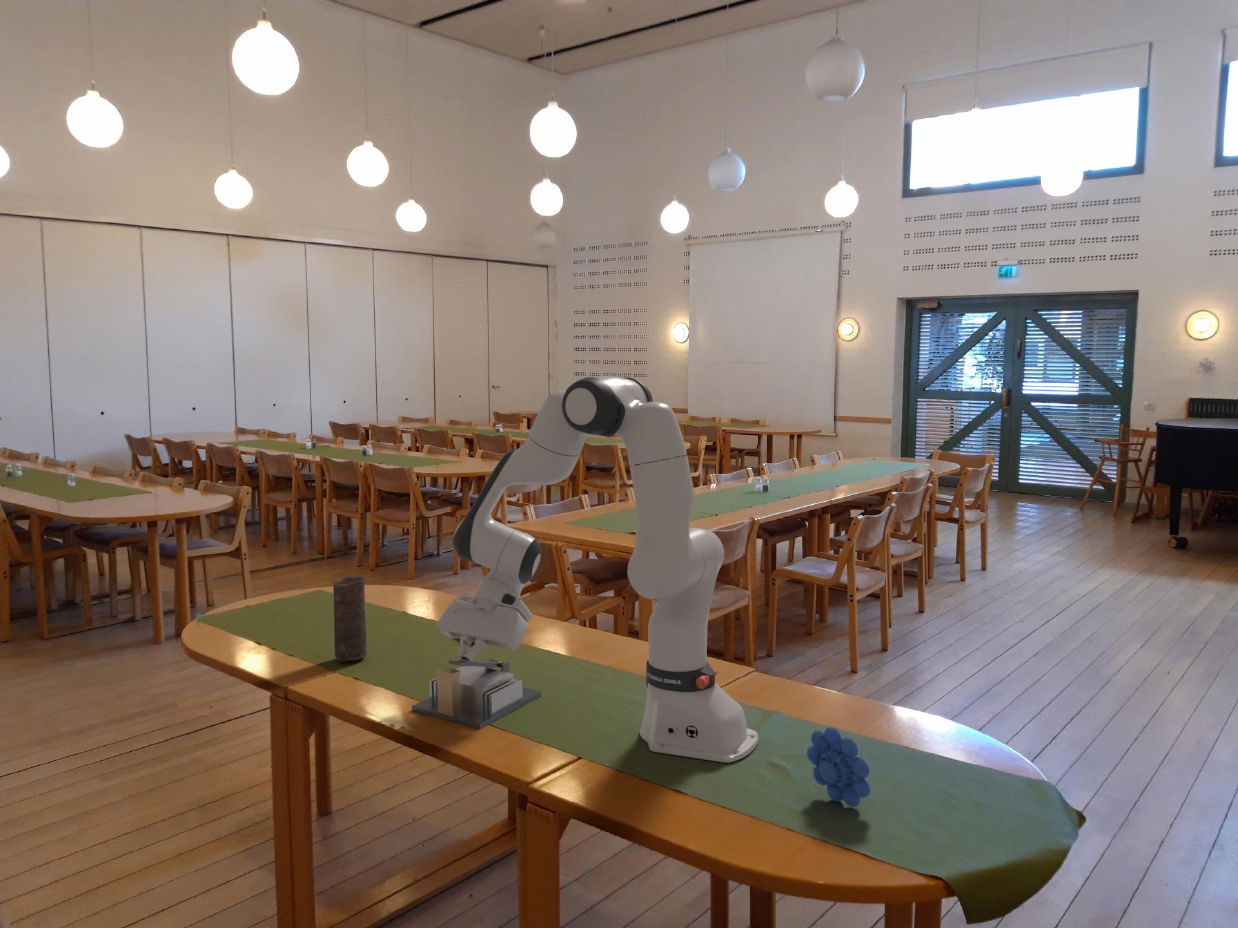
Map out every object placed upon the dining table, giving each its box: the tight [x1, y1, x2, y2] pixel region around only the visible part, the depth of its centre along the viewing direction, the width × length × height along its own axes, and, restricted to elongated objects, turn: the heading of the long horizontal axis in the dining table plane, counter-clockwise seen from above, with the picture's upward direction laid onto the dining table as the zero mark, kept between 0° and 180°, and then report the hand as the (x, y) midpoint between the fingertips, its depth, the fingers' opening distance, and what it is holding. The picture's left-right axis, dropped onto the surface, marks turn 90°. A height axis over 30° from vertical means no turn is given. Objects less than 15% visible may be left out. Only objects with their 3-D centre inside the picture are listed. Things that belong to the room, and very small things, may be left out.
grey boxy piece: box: [411, 658, 542, 730], centre depth 184 cm, size 18×20×10 cm
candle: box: [332, 575, 368, 662], centre depth 210 cm, size 8×7×20 cm
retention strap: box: [448, 659, 505, 669], centre depth 183 cm, size 15×3×1 cm, turn 149°
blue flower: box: [806, 726, 871, 808], centre depth 141 cm, size 12×7×12 cm, turn 43°
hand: (464, 658), depth 180 cm, fingers closed, pressing on retention strap
